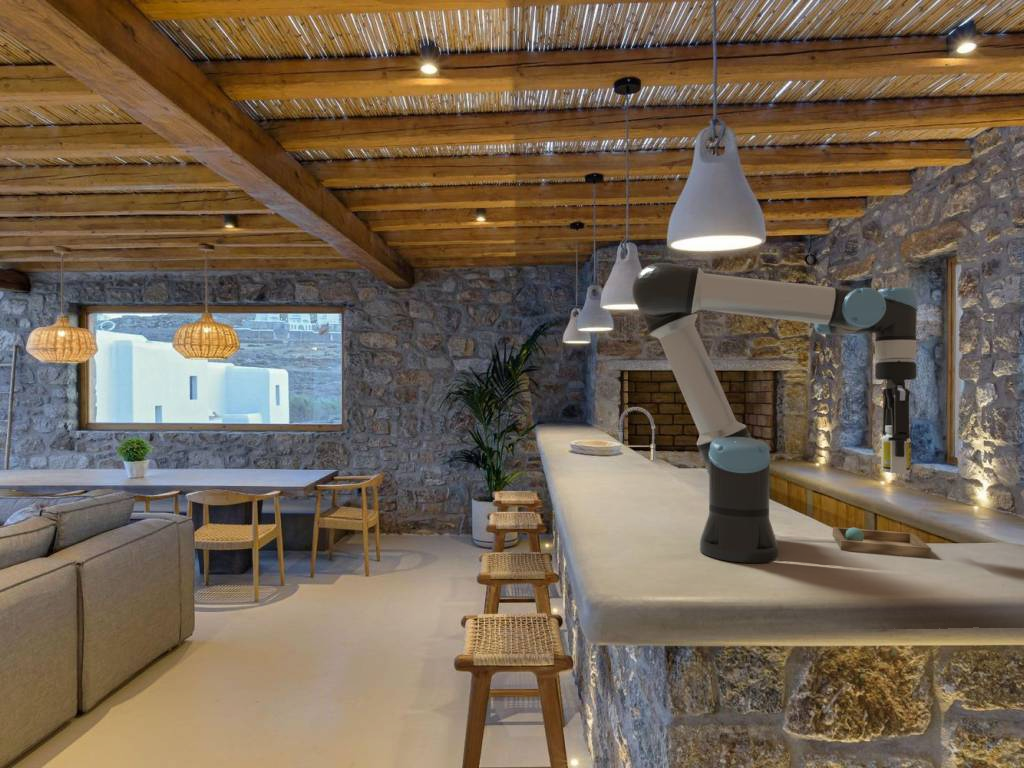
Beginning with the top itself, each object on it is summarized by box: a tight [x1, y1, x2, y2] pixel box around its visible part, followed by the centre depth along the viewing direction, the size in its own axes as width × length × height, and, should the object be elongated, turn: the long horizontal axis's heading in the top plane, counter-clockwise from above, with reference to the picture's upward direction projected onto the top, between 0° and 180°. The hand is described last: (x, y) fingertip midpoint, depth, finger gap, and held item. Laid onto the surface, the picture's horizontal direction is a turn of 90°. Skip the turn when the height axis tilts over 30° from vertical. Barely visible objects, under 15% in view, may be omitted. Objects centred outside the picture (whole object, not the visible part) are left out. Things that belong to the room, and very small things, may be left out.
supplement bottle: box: [880, 425, 912, 474], centre depth 135 cm, size 5×5×10 cm
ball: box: [846, 526, 864, 541], centre depth 138 cm, size 4×4×4 cm
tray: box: [832, 526, 932, 559], centre depth 136 cm, size 16×14×2 cm
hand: (895, 470), depth 135 cm, fingers closed on supplement bottle, 5 cm apart
